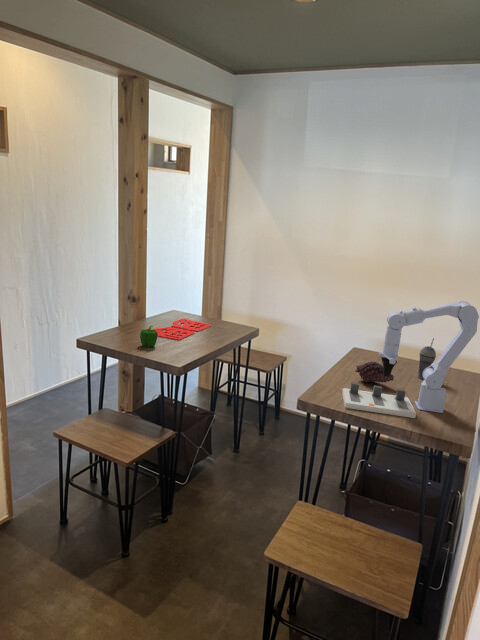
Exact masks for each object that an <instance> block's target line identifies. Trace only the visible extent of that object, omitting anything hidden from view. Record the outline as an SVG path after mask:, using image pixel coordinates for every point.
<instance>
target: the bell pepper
mask: <svg viewBox="0 0 480 640" xmlns="http://www.w3.org/2000/svg"><path fill="white" fill-rule="evenodd" d="M153 327H154V326H153V325H152V324H151V325H150V326H148V328H145V329H141V330H140V334H139V338H140V344H141V346H142V347H146V348H154V347H155V346H156V343H157V340H158V337H157V335H158V334H157V332H156V330H155V328H153ZM152 328H153V330H152Z"/></svg>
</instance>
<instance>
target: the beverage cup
mask: <svg viewBox="0 0 480 640" xmlns="http://www.w3.org/2000/svg"><path fill="white" fill-rule="evenodd" d="M434 340H435V338H434V337H433V338H432V340H431V343H430V346H424V347H423V348H422V349H420V351H419V362H418V372H417V378H418V379H419V380H421V381H424V378H423V376H422V373H423V371H424V369H426V368H427V367H429V366H430V365H431V364H432V363H434V362H435V360H436V358H437V356H436V355H437V353H436V350H435V349H434V348H433V347H432V346H433V343H434Z"/></svg>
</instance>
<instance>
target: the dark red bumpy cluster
mask: <svg viewBox="0 0 480 640" xmlns="http://www.w3.org/2000/svg"><path fill="white" fill-rule="evenodd" d="M355 366H356V369H355V373H359V374H358V375H359V376H360V379H362V381H364V382H366V383H367V384H368V383H387V382H392V381H394V380H395V379H394V378H395V376H394V374H392V373H391V374H390V376H389V377H387V376H384V375H383V364H380V363H379V362H376V361H367V362H365V363H364V364H359V365H355Z"/></svg>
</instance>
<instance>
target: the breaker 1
mask: <svg viewBox="0 0 480 640" xmlns="http://www.w3.org/2000/svg"><path fill="white" fill-rule="evenodd" d="M349 389H350V393H355V394H358V390H359V389H360V384H359V382H350V387H349Z"/></svg>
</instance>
